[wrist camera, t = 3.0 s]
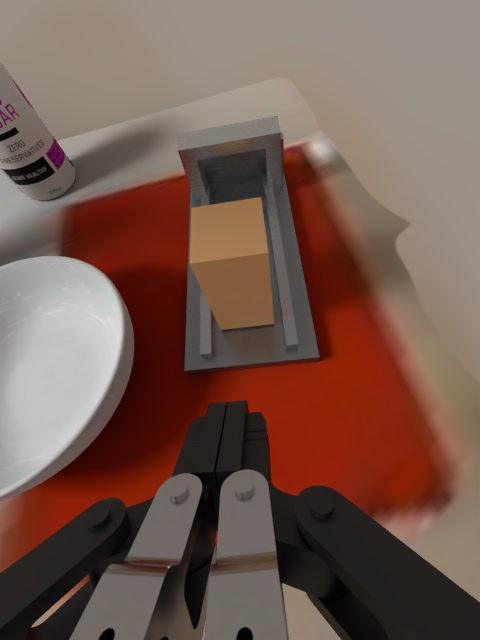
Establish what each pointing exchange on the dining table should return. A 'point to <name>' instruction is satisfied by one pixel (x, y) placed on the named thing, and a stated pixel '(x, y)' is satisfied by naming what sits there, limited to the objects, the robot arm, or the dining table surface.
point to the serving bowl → (57, 365)
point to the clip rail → (284, 258)
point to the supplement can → (30, 147)
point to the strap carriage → (233, 262)
